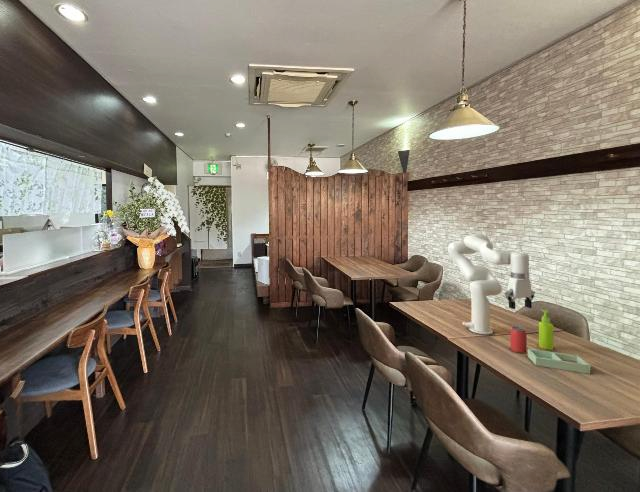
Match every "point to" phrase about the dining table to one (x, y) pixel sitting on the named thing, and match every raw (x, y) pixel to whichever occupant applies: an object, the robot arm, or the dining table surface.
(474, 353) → the dining table surface
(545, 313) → the soap dispenser
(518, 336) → the beer can
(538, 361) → the divided tray
